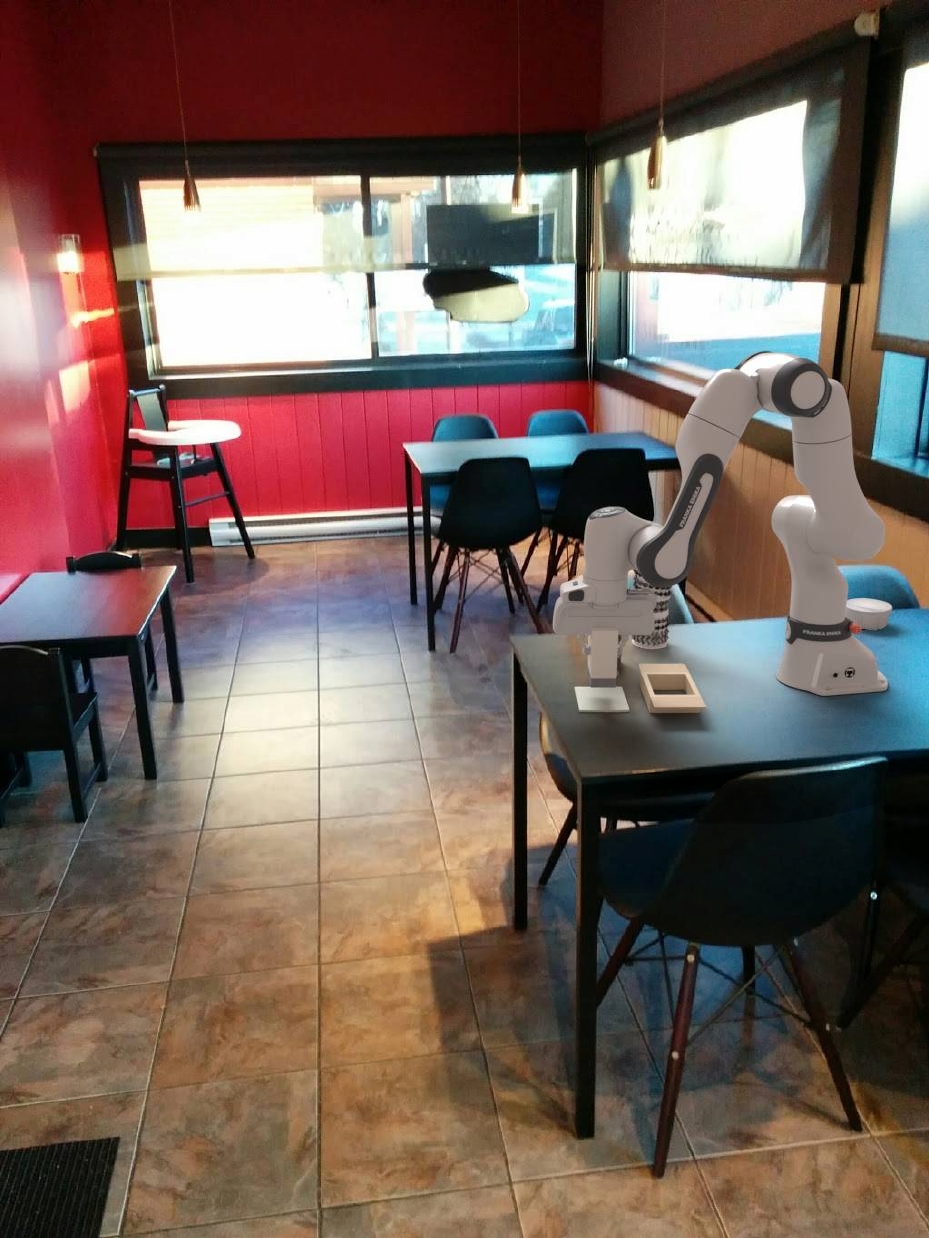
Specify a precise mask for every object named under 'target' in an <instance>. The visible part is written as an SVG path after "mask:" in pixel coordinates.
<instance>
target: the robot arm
mask: <svg viewBox="0 0 929 1238" xmlns="http://www.w3.org/2000/svg"><path fill="white" fill-rule="evenodd" d="M762 410H763V411H766V412H769V413H776V414H781V415H782V414H783V415H785V416H788V417H789V418H790V422H791V436H792V437H791V438H792V452H793V453H792V454H793V467H794V468H793V472H794V476H795V477H796V479H797V481H798V483H800V485H801V486H802V487H803V488H804V490H806V491H807V493H808V494H798V495H797V494H796V495H794V494H793V495H788V496H785V497H783V498H782V499H780V501H778V503H777V504H776V505H775V507H774V509H773V511H772V514H771V528H772V531H773V533H774V535H776V537H777V538H778V540H779V541H780V542H781V545H782V546H783V549H784V552H785V555H786V557H787V561H788V566H789V570H790V574H791V575H790V576H791V592H790V593H791V595H790V608H789V609H790V610H789V612H788V613H787V617H786V622H785V628H784V629H785V631H784V636H785V637H784V639H785V644H784V648H783V653H782V656H781V660H780V663H779V666H778V669H777V671H776V672H775V677H776V678H777V680H778V682H779V681H780V683H783V684H784V685H785V686H789V687H792V688H794V689H798V690H802V691H807V692H811V693H813V694H816V695H819V696H822V697H826V696H838V695H840V696H841V695H850V694H865V693H877V692H884V691H885V692H886V691H887V689H888V687H889V682H888V679H887V677H886V676H885V675H884V674H883V673H882V672H881V671H880V670H878V669H879V668H878V663H877V662H878V661H877V659H876V655H874V653H873V651H872V650H871V649H869V648H868V647H867V646H866V645H865V644H864V643H863V642H861V641H860V639H857V637H855V636H854V635H860V633H862V628H861V627H860V626H859V625H858V624H857V623H853V621H851V620H850V619H848V618H846V617H845V613H846V604H847V600H848V594H849V584H848V581H847V578H846V577H845V576H844V574H843V573H842V572H841V570H840V569H839V567H838V566H837V563H836V560H835V559H838V560H841V561H848V562H849V561H850V562H866V561H869V560H871V559H874V557H876V555H878V553H879V552H880V551H881V549H882V548H883V546H884V543H885V541H886V534H887V533H886V532H887V531H886V526H885V522H884V521H883V519H882V518H881V517H880V515H878V513H876V512H875V510H874V509H873V508H872V507H871V505H870V504H869V502H868V501H867V499H866V497H865V496H864V493H863V491H862V489H861V485H860V484H859V481H858V478H857V475H856V470H855V464H854V463H855V462H854V452H853V433H852V429H853V428H852V419H851V418H852V417H851V411H850V406H849V402H848V398H847V394H846V390H845V388H844V386H843V385H842V383H840V382H839V381H838V380H835V379H833V378H828V375H827V373H826V372H825V371H824V369H823V368H822V366H821V365H819V364H818V363H817V362H815V361H814V360H812V359H809V358H808V357H807V358H806V357H801V356H799V355H796V354H793V353H788V352H775V351H769V350H763V351H762V350H761V351H757V352H753V353H751V354H748V355H747V356H746V357H744V358H743V359H742V360H741V361H740V362H739V363H738V364H737V366H735V367H734V368H731V367H730V368H721V369H718V370H717V371H715V372H714V374H713V375H712V376H710V378H709V379H708V381H707V382H706V383H705V385H704V386H703V387H702V389H701V390H700V392H699V394H698V395H697V397H696V398H695V399H694V401H693V403H692V405H691V406H690V408H689V411H688V412H687V414H686V416H685V418H684V420H683V421H682V424H681V426H680V428H679V431H678V435H677V437H676V440H675V445H674V447H675V454H676V456H677V459H678V462H679V466H680V468H681V469H680V470H681V476H682V477H681V486H680V489H679V492H678V493H677V496H676V499H675V501H674V503H673V505H672V507H671V509H670V512H669V514H668V516H667V519H666V522H665V523H664V525H662V524H660V523H658V522H654V521H651V520H646V519H643V518H641V517H639V516H637V515H635V514H633V513H631V512H629V510H627V509H626V508H625V507H621V506H605V507H601V508H599V509H595V510H594V511H592V512H591V514H589V516H588V518H587V520H586V524H585V527H584V528H585V530H584V539H583V556H584V568H583V571H582V576H581V577H578V578H576V579H573V580H572V579H571V580H569V581H566V582H563V583H561V585H559V586H560V587H559V594H560V596H558V597H557V598H556V601H555V605H554V610H553V617H552V630H553V632H554V633H555V634H556V635H557V636H577V639H578V641H579V643H580V645H581V647H582V656H588V655H590V651H591V647H590V645H588V644H587V643H585V640H586V636H588V635H591V634H592V627H617V629H618V635H620V636H621V641H620V643H619V645H618V651H617V655H621V656H623V649H624V647H625V646H626V644H627V643H628V641H629V638H630V636H632V635H651V634H652V633H653V631H654V630H655V621H654V611H653V610H654V609H655V607H656V605H657V596H656V594H655V593H654V592H652V591H650V590H649V589H635V588H628V578H629V572H630V571H633V570H638V571H639V573H640V574H641V576H642V577H643V578H644V580H645V581H646V582H647V583H649V584H650V585H652V586H655V587H661V588H665V587H670V586H672V587H673V586H675V585H678V584H679V583H681V582H682V581H683V580H684V579H685V578H686V577H687V575H689V572H690V571H691V568H692V566H693V559H694V551H695V544H696V541H697V539H698V538H697V537H698V536H699V533H700V531H701V529H702V526H703V524H704V523H705V522H704V521H705V520H706V517H707V515H708V513H709V511H710V508H711V506H712V504H713V502H714V500H715V496H716V495H717V492H718V489H719V487H720V484H721V481H722V480H723V476H724V473H725V470H726V467H727V466H728V463H729V462H730V459H731V457H732V456H733V453H734V452H735V449H736V448H737V445H738V443H739V442H740V439H741V438H742V436H743V434H744V432H745V430H746V427H747V425H748V424H749V422H750V421H751V419H752V418H753V417H754V416H755V415H756V414H757V413H758V412H760V411H762ZM650 593H652V594H650ZM853 634H854V635H853Z"/></svg>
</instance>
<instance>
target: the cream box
mask: <svg viewBox="0 0 929 1238" xmlns="http://www.w3.org/2000/svg"><path fill="white" fill-rule="evenodd" d="M587 637H588V639H587V641H588V642H587V643H588V644H587V645H590V647H591V651H590V655H587V667H586V669H587V670H586V671H587V672H586V673H587V677H588V681H589V687H591V688H616V687H617V676H616V675H617V651H618V629H617V627H592V634H591V635H587Z"/></svg>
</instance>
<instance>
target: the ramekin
mask: <svg viewBox="0 0 929 1238" xmlns="http://www.w3.org/2000/svg"><path fill="white" fill-rule="evenodd" d="M892 611H893V606H892V605H891V604H890V603H888V602H886V601H883V600H879V599H876V598H875V599H874V598H867V597H860V598H857V597H856V598H851V599H847V604H846V613H845V617H846V618H848V619H850V620H851V621H853V623H857V624H858V625H859V626H860V627H861V628H862V629H866V630H865V631H876V630H875V629H880V630H882V629H881V628H883V629H884V628H886V626H887V625H888V622H889V619H890V616H891V613H892ZM862 629H861V630H862ZM867 629H868V630H867Z"/></svg>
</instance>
